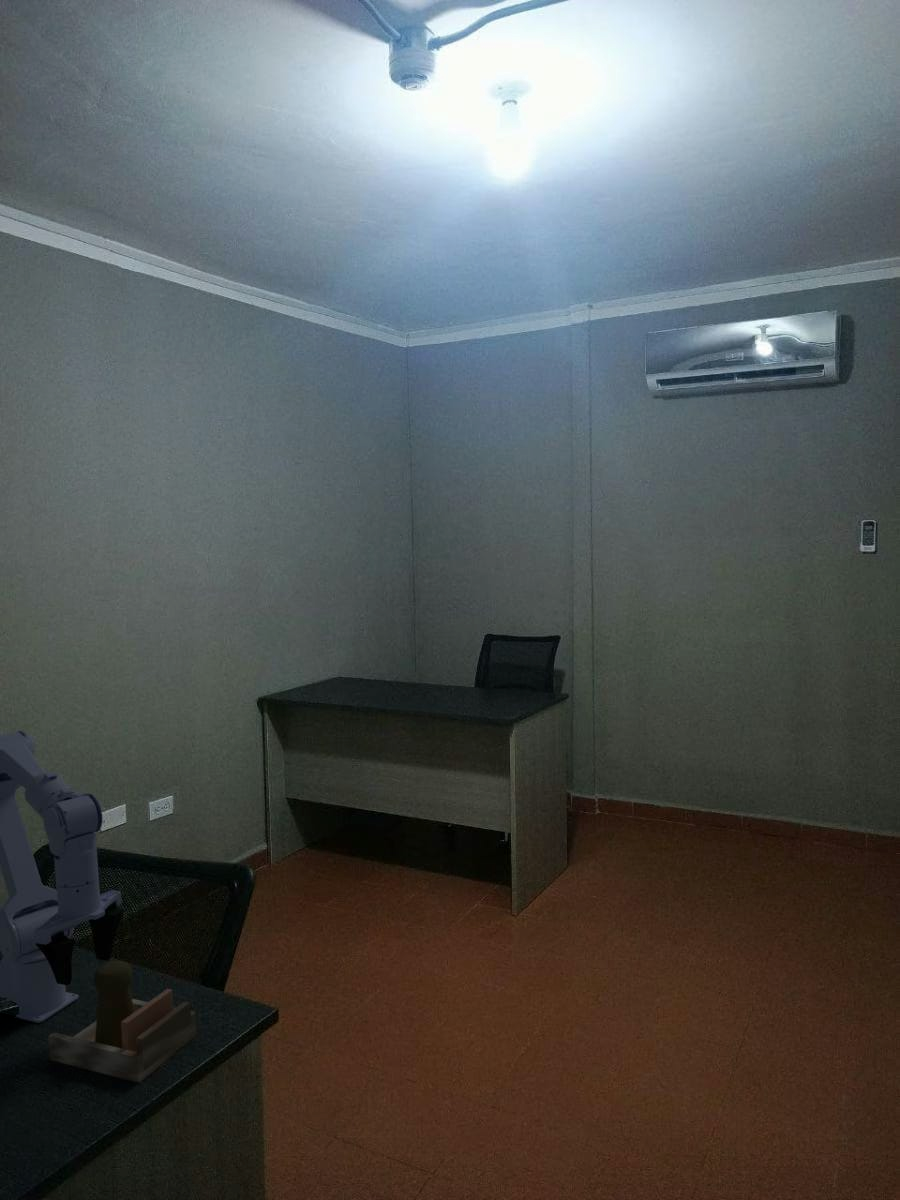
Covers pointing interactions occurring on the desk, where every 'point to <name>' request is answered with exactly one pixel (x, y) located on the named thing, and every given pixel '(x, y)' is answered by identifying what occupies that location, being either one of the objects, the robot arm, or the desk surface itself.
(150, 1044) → the wooden tray
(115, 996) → the brown tapered rounded cylinder
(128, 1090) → the desk surface
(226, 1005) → the desk surface
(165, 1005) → the lane pusher
